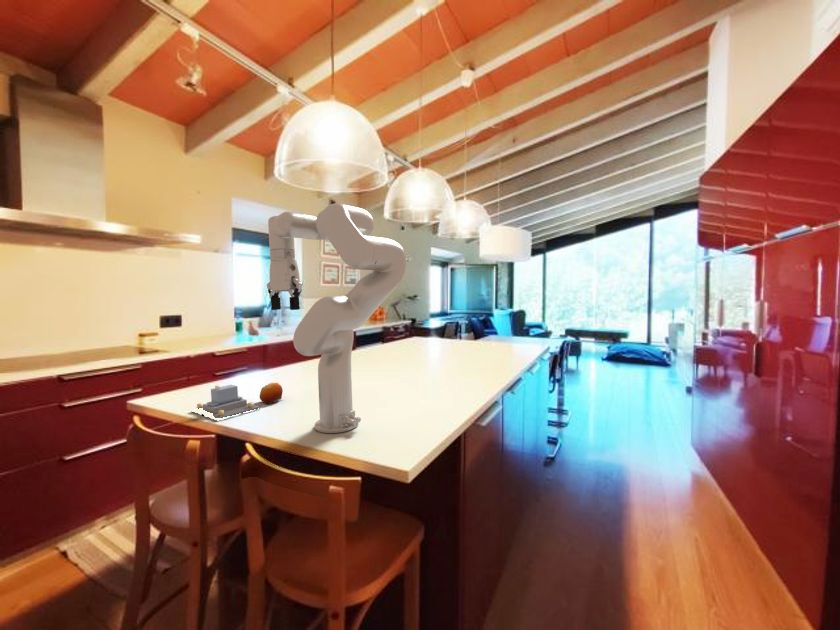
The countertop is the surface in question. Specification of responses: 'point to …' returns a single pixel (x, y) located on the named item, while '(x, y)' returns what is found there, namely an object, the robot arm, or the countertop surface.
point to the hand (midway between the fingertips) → (285, 309)
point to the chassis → (228, 408)
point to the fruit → (271, 393)
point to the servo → (224, 395)
